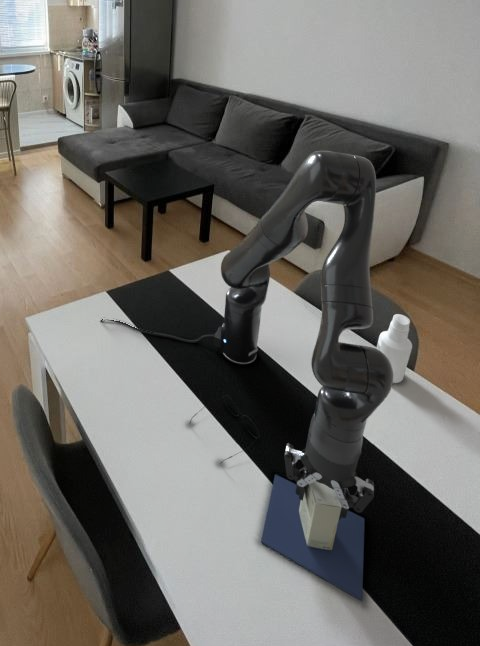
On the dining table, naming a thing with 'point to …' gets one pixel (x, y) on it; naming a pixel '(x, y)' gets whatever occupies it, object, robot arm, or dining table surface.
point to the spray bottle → (396, 345)
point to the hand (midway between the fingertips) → (319, 504)
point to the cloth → (330, 565)
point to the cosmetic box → (319, 515)
